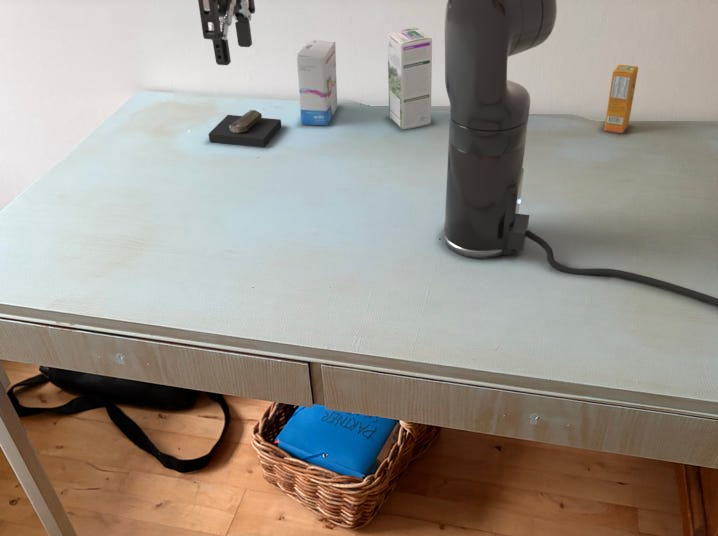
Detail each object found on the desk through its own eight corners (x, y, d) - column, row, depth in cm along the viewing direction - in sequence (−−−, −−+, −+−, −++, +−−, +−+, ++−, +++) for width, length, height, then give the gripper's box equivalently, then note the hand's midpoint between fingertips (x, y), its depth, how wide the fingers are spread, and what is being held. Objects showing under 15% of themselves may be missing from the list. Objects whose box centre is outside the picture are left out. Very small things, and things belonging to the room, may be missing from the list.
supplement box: (607, 123, 126) (619, 62, 119) (628, 126, 124) (641, 66, 118) (601, 130, 124) (613, 69, 117) (622, 134, 122) (635, 73, 116)
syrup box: (432, 124, 128) (434, 36, 119) (400, 130, 127) (400, 42, 117) (417, 112, 132) (419, 26, 123) (387, 118, 131) (386, 32, 121)
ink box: (328, 126, 129) (324, 56, 121) (300, 125, 130) (294, 55, 122) (339, 106, 135) (335, 39, 128) (312, 105, 136) (307, 38, 128)
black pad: (281, 127, 130) (280, 119, 129) (264, 147, 124) (263, 139, 123) (229, 122, 132) (227, 114, 131) (209, 142, 126) (208, 133, 125)
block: (263, 121, 128) (262, 111, 127) (244, 135, 124) (243, 124, 123) (245, 118, 130) (244, 107, 128) (226, 131, 126) (224, 121, 124)
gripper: (221, -47, 102) (238, 72, 113) (261, -70, 112) (273, 41, 123) (172, -48, 104) (193, 69, 115) (215, -71, 114) (231, 39, 125)
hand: (235, 55), depth 119 cm, fingers open, 8 cm apart
